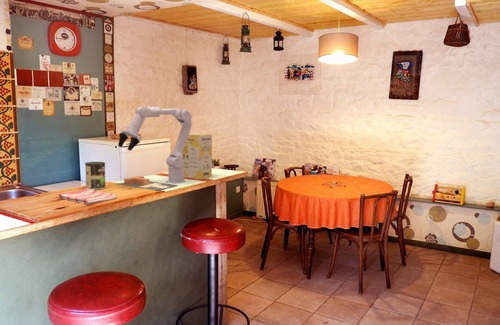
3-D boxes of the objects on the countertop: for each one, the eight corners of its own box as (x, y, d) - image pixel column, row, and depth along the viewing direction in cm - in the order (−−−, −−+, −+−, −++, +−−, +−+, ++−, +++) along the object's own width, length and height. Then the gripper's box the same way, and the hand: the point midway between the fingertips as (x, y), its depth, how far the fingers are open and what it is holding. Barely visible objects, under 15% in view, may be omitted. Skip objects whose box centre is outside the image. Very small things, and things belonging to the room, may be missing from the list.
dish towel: (87, 193, 217) (87, 186, 217) (118, 199, 205) (117, 192, 205) (57, 199, 203) (57, 192, 203) (88, 206, 191) (88, 198, 190)
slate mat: (138, 180, 255) (138, 179, 255) (178, 185, 240) (178, 185, 240) (115, 184, 239) (115, 184, 239) (156, 191, 224) (156, 190, 224)
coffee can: (109, 186, 233) (108, 162, 231) (99, 190, 223) (98, 164, 221) (92, 185, 235) (91, 161, 233) (81, 189, 225) (81, 163, 223)
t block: (139, 180, 251) (139, 176, 250) (154, 183, 245) (154, 178, 244) (124, 183, 240) (124, 178, 240) (139, 186, 234) (139, 181, 234)
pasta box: (211, 177, 270) (211, 134, 267) (200, 179, 262) (200, 135, 258) (191, 174, 281) (191, 133, 277) (180, 176, 273) (180, 133, 269)
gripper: (121, 120, 231) (110, 142, 229) (140, 126, 224) (128, 149, 222) (129, 125, 237) (119, 146, 235) (147, 131, 230) (136, 153, 228)
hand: (124, 148), depth 229 cm, fingers open, 7 cm apart
